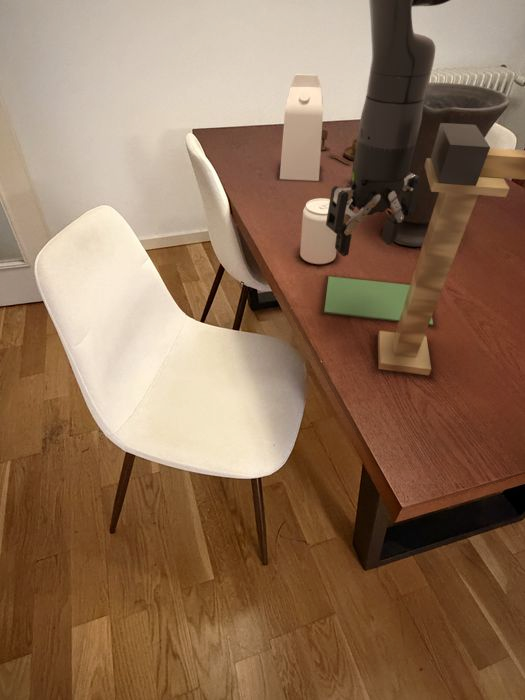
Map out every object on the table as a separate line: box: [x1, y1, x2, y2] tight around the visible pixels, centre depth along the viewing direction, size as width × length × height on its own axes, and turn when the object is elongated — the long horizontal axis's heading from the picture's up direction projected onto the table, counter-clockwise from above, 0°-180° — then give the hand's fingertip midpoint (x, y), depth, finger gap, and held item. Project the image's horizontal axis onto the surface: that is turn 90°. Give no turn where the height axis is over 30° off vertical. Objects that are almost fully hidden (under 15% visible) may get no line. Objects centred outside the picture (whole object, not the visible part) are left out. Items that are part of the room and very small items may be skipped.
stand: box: [377, 158, 510, 376], centre depth 58 cm, size 8×8×30 cm
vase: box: [394, 82, 511, 248], centre depth 87 cm, size 22×22×30 cm
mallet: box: [431, 123, 525, 186], centre depth 45 cm, size 16×8×4 cm, turn 79°
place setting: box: [321, 129, 357, 165], centre depth 137 cm, size 18×20×6 cm
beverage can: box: [299, 197, 338, 265], centre depth 87 cm, size 8×8×12 cm
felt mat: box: [323, 276, 434, 326], centre depth 79 cm, size 20×12×1 cm, turn 79°
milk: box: [279, 73, 324, 182], centre depth 118 cm, size 12×12×26 cm
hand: (365, 247), depth 64 cm, fingers open, 8 cm apart
